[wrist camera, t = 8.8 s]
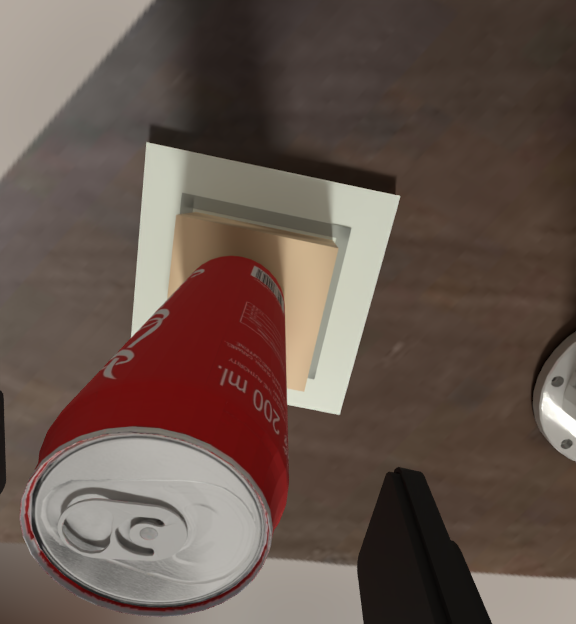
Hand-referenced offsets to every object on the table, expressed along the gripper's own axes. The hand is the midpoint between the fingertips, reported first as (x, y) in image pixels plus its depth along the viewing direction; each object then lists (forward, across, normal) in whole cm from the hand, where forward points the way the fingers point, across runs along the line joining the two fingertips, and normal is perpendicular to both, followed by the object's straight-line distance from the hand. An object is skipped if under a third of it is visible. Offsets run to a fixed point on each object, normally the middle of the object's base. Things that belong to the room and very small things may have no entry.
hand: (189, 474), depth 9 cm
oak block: (+17, +1, 0) cm, 17 cm away
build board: (+18, +1, 0) cm, 18 cm away
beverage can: (+13, +1, 0) cm, 13 cm away
